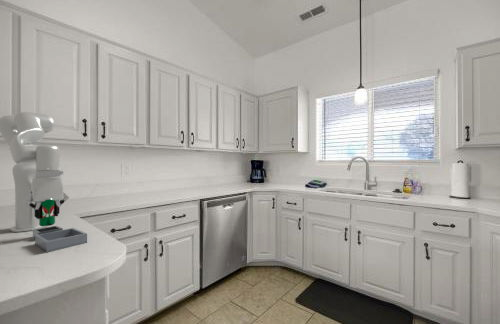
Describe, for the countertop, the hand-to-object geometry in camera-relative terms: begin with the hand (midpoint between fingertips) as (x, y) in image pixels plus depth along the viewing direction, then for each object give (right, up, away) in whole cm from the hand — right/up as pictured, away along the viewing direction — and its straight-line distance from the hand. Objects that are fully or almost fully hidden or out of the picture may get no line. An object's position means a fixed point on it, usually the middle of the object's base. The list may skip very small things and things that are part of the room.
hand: (47, 216), depth 97 cm
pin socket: (+1, -8, 0) cm, 8 cm away
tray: (+14, -8, -10) cm, 19 cm away
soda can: (0, -4, 0) cm, 4 cm away
